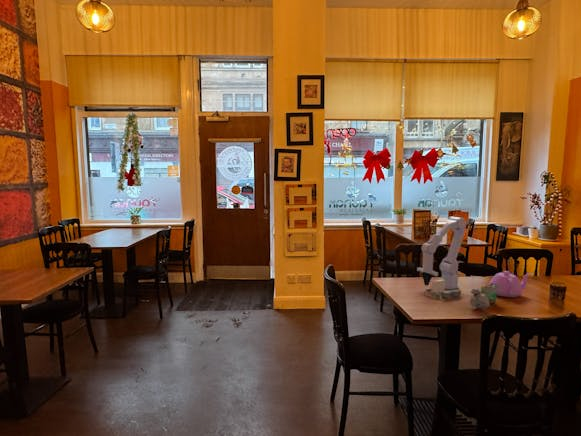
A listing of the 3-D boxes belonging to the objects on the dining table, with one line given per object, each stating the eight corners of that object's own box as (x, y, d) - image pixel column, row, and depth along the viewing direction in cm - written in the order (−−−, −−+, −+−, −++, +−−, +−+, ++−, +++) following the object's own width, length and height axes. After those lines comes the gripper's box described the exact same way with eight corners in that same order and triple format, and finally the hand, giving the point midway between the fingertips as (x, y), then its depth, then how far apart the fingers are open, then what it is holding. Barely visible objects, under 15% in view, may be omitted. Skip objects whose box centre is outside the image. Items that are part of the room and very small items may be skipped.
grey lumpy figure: (492, 314, 190) (493, 290, 191) (471, 312, 192) (472, 288, 193) (487, 311, 200) (488, 288, 200) (467, 309, 202) (468, 286, 203)
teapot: (537, 302, 211) (539, 277, 210) (494, 299, 216) (496, 275, 214) (522, 290, 233) (523, 268, 231) (483, 288, 237) (485, 266, 235)
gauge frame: (441, 290, 231) (441, 284, 230) (461, 297, 218) (461, 290, 217) (422, 293, 223) (422, 287, 223) (442, 301, 211) (442, 294, 210)
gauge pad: (441, 290, 228) (442, 279, 227) (444, 291, 226) (444, 280, 225) (424, 293, 221) (425, 282, 220) (426, 294, 220) (427, 283, 219)
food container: (491, 307, 201) (493, 289, 200) (479, 304, 206) (481, 286, 205) (501, 303, 209) (503, 285, 208) (490, 300, 214) (491, 282, 212)
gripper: (413, 261, 234) (412, 282, 236) (432, 266, 222) (431, 289, 223) (422, 260, 238) (421, 281, 239) (441, 265, 225) (439, 287, 226)
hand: (426, 285), depth 231 cm, fingers closed
